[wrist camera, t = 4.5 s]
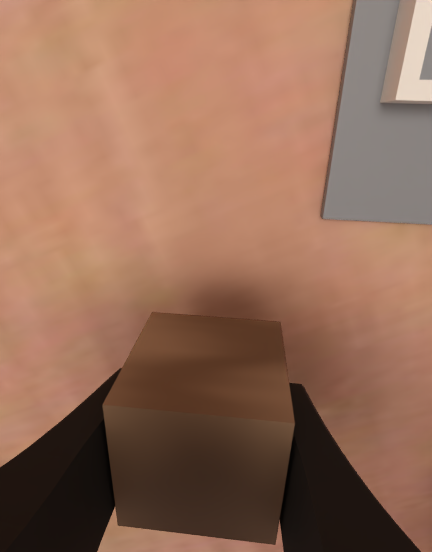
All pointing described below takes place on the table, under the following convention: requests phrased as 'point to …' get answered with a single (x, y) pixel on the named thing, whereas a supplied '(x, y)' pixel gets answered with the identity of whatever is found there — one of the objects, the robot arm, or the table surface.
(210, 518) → the walnut block
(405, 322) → the table surface
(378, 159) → the pocket board
